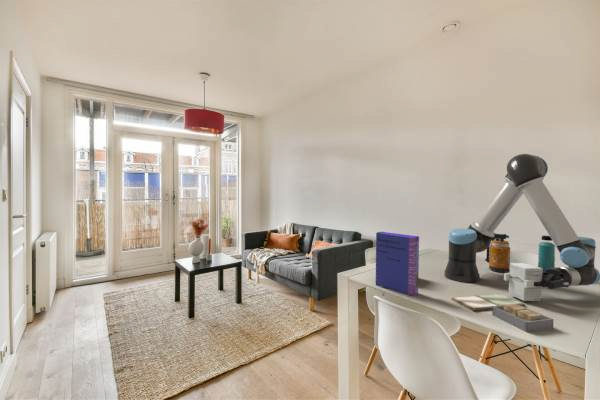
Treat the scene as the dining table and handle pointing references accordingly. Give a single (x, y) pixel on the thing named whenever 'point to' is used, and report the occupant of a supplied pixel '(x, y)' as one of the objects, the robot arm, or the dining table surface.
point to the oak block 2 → (528, 315)
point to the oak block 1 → (512, 309)
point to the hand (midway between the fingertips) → (514, 280)
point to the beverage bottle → (546, 254)
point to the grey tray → (524, 325)
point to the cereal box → (397, 262)
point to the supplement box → (517, 281)
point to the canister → (499, 254)
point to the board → (484, 302)
